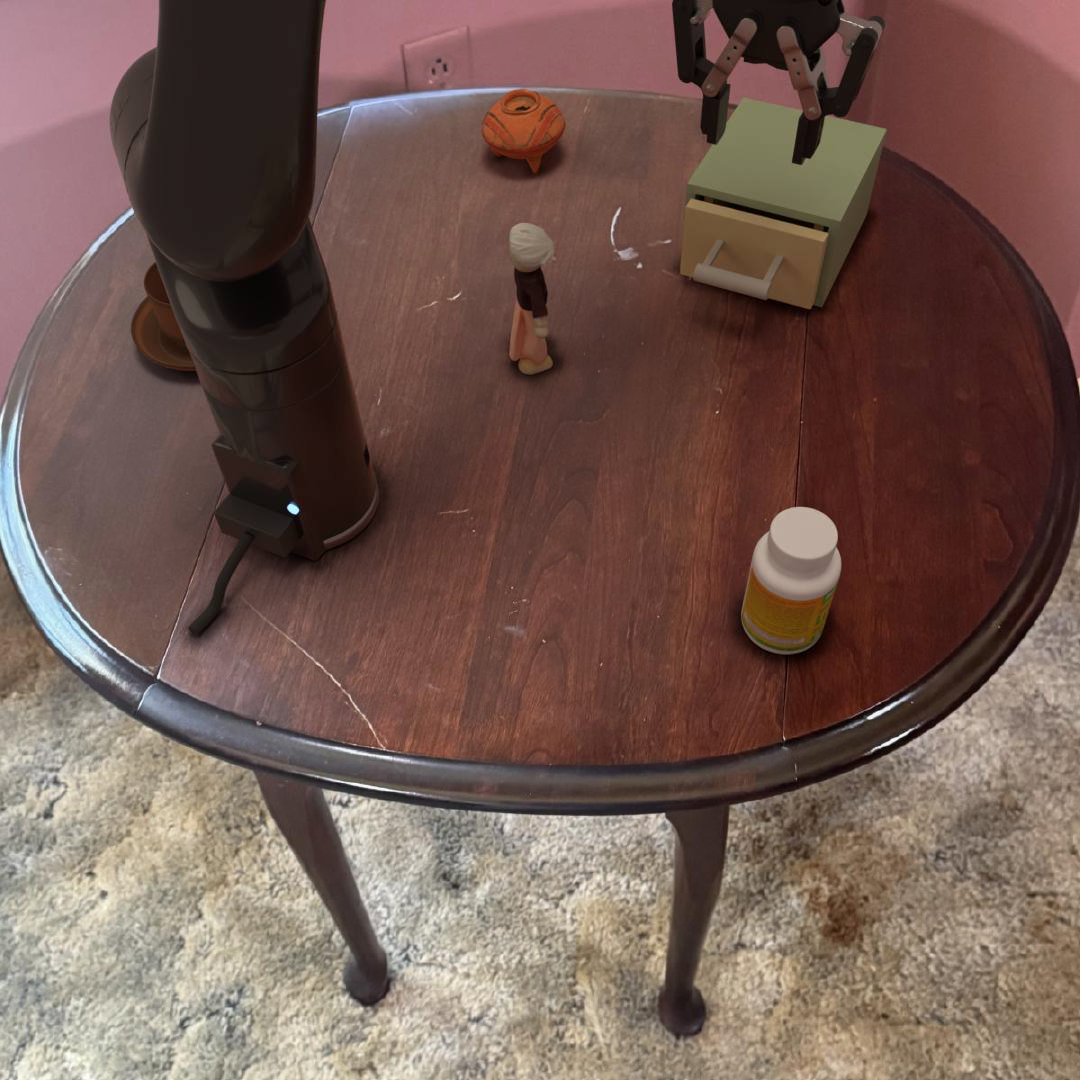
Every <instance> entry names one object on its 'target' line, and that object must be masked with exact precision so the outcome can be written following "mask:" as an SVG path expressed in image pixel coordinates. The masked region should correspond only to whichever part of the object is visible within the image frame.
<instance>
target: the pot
mask: <svg viewBox="0 0 1080 1080" xmlns="http://www.w3.org/2000/svg"><path fill="white" fill-rule="evenodd" d="M566 124H567V123H566V120H565V117H564V114H563V113H562V111H561V109H560V108H559V107H558V105H557V104H556V103H555V102H554V101H553V100H551V99H549V97H546V96H544V95H541V94H539V93H538V92H537V91H534V90H529V89H527V88H517V89H513V90H510V91H509V92H507V93H506V94H505V95H503V96H502V98H501V99H499V100H498V101H497V102H496V103H495V104H494V105H493V106H492V107H491V108H490V109H489V110H488V111H487V112H486V114H485V116H484V118H483V120H482V123H481V136H482V139H483V140H484V142H485V143H486V144H487V145H488V146H489V147H490V149H491V152H492V154H493V155H495V156H496V157H502V156H504V157H507V158H509V159H515V160H526V161H527V163H528V164H529V167H530V169H531V170H532V173H533V174H537V173H538V172H539V168H540V165H541V160H542V156H543V155H544V154H545V153H547V152H549V151H550V150H551V149H552V148H553V147H555V145H556V144H557V143H558V142H559V141H560V139H561V138H562V136H563V134H564V133H565V130H566V126H567V125H566Z"/></svg>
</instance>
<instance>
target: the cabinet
mask: <svg viewBox="0 0 1080 1080" xmlns="http://www.w3.org/2000/svg"><path fill="white" fill-rule="evenodd" d="M802 112H803V109H797V108H794V107H790V106H785V105H780V104H775V103H771V102H766V101H762V100H758V99H753V98H749V97H742V99H741V100H740V101H739V103H738V105H737V106H736V108H735V110H734V111H733V113H732V114H731V116H730V117H729V119H727V122H726V129H725V132H724V134H723V136H722V138H721V139H720V141H719V142H718V144H717V145H714V144H711V146H710V148H709V149H708V151H707V152H706V153H705V155H704V157H703V158H702V160H701V161H700V163H699V164H698V165H697V167H696V168H695V171H694V172H693V174H691V177H690V178H689V179H688V181H687V183H686V191H685V192H686V193H685V204H684V205H685V207H684V211H685V210H686V205H687V204H688V202H689V201H690V199H695V200H699V201H703V202H704V196H707V197H711V198H715V199H719V200H723V201H727V202H731V203H735V204H739V205H743V206H747V207H751V208H754V209H758V210H762V211H766V212H770V213H774V214H778V215H782V216H786V217H790V218H794V219H798V220H802V221H806V222H810V223H814V224H818V225H822V226H826V227H829V229H828V233H829V235H828V240H827V245H826V249H825V254H824V259H823V264H822V268H821V273H820V278H819V283H818V287H817V292H816V297H815V301H814V303H813V305H812V306H815V307H818V308H822V307H823V306H824V304H825V303H826V300H827V298H828V296H829V293H830V292H831V289H832V288H833V286H834V283H835V281H836V279H837V278H838V275H839V274H840V271H841V269H842V267H843V265H844V263H845V261H846V258H847V256H848V255H849V252H850V250H851V248H852V246H853V245H854V242H855V240H856V238H857V236H858V235H859V232H860V229H861V228H862V226H863V224H864V221H865V219H866V217H867V215H868V210H869V206H870V202H871V198H872V195H873V189H874V185H875V182H876V177H877V173H878V168H879V165H880V161H881V156H882V152H883V147H884V144H885V140H886V135H887V131H888V129H887V128H884V127H880V126H875V125H871V124H867V123H862V122H857V121H853V120H848V119H845V118H840V117H836V116H831V115H827V116H825V120H824V125H823V130H822V135H821V141H820V144H819V146H818V148H817V149H816V151H815V153H814V155H813V156H812V157H811V159H807V158H806V159H805V161H804V162H803V164H802V165H798V164H794V163H792V157H793V151H794V145H795V139H796V133H797V127H798V121H799V117H800V116H801V114H802ZM684 221H685V215H684V217H683V222H684ZM682 230H683V231H682V234H683V233H684V226H683V229H682ZM681 240H682V242H681V246H682V245H683V238H682V239H681ZM681 257H682V250H681V251H680V258H681ZM680 269H681V261H680V264H679V270H680Z"/></svg>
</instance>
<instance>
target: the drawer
mask: <svg viewBox="0 0 1080 1080" xmlns="http://www.w3.org/2000/svg"><path fill="white" fill-rule="evenodd" d="M684 216H685V221H684V220H683V227H684V233H683V232H682V239H683V245H682V244H681V251H682V257H681V256H680V262H681V269H680V268H679V270H680V271H679V275H682V276H686V277H689V278H692V280H693V281H694V282H698V283H701V284H705V285H709V286H712V287H717V288H720V289H723V290H727V291H731V292H734V293H738V294H741V295H745V296H749V297H752V298H757V299H760V300H764V301H768V299H769V300H773V301H777V302H781V303H784V304H788V305H792V306H795V307H799V308H803V309H805V310H806V309H807V310H811V309H812V308H813V306H814V305H813V303H814V301H815V297H816V292H817V287H818V283H819V278H820V273H821V268H822V264H823V259H824V254H825V249H826V245H827V240H828V235H829V233H828V229H829V227H826V226H822V225H818V224H814V223H810V222H806V221H802V220H798V219H794V218H790V217H786V216H782V215H778V214H774V213H770V212H766V211H762V210H758V209H754V208H751V207H747V206H743V205H739V204H735V203H731V202H727V201H723V200H719V199H715V198H711V197H707V196H704V202H703V201H699V200H695V199H690V201H689V202H688V204H687V205H686V210H685V209H684Z"/></svg>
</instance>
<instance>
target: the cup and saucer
mask: <svg viewBox="0 0 1080 1080" xmlns="http://www.w3.org/2000/svg"><path fill="white" fill-rule="evenodd" d="M143 288H144V290H145V293H146V295H147V296H146V297H145V298H144V299H143V300H142V301H141V303H140V304H139V305H138V307H137V308H136V310H135V311H134V313H133V316H132V318H131V322H130V334H131V338H132V341H133V343H134V345H135V347H136V348H137V349H138V351H139V352H140V353H141V354H142V355H143V356H144V357H145V358H146V359H148V360H149V361H150V362H152V363H154V364H156V365H158V366H161V367H164V368H167V369H171V370H177V371H183V372H185V371H186V372H196V369H195V367H194V364H193V361H192V359H191V356H190V354H189V351H188V348H187V346H186V343H185V341H184V338H183V335H182V333H181V330H180V328H179V325H178V323H177V320H176V318H175V315H174V313H173V310H172V307H171V304H170V301H169V298H168V295H167V293H166V290H165V287H164V284H163V281H162V278H161V276H160V273H159V270H158V267H157V264H156V261H155V260H154V262H153V263H152V264H151V265H150V266H149V268H148V269H147V270H146V272H145V274H144V277H143Z"/></svg>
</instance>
